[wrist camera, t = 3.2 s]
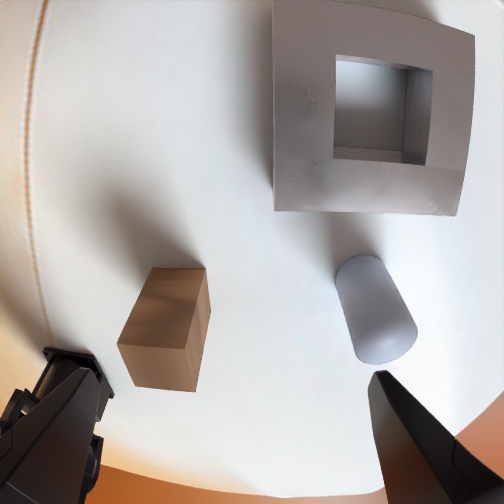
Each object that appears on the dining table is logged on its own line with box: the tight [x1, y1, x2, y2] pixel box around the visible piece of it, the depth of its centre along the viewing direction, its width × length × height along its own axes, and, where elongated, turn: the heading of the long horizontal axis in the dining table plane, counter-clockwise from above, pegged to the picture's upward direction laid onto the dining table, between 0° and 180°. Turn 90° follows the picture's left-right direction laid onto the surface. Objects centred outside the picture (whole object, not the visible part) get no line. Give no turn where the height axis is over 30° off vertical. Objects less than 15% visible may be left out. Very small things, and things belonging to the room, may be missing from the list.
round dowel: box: [335, 255, 418, 365], centre depth 18 cm, size 4×4×6 cm
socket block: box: [271, 0, 475, 216], centre depth 14 cm, size 10×10×3 cm
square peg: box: [117, 268, 211, 392], centre depth 18 cm, size 4×4×7 cm
